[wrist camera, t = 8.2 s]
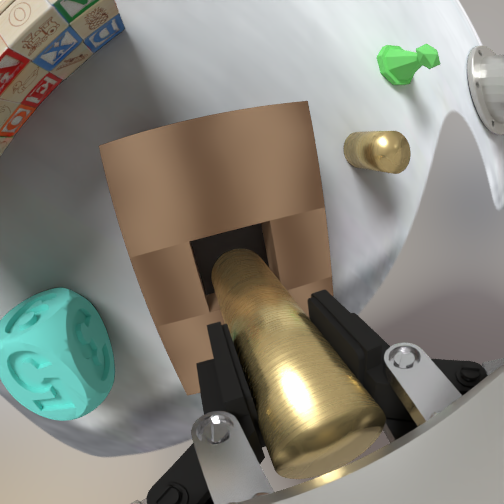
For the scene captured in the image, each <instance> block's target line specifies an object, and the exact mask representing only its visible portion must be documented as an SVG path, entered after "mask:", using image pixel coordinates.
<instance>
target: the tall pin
mask: <svg viewBox="0 0 504 504" xmlns="http://www.w3.org/2000/svg"><path fill="white" fill-rule="evenodd" d="M211 277H212V283H213V287H214V290H215V293H216V297H217V300H218V304H219V307H220V310H221V313H222V317H223V320H224V323H225V324H227V325H228V328H229V331H230V334H231V337H232V340H233V343H234V346H235V349H236V352H237V355H238V358H239V361H240V364H241V367H242V370H243V373H244V376H245V379H246V382H247V384H248V387H249V390H250V393H251V396H252V399H253V402H254V406H255V409H256V412H257V415H258V425H259V428H260V431H261V434H262V437H263V439H264V442H265V445H266V447H267V450H268V453H269V455H270V458H271V461H272V463H273V466H274V468H275V471H276V472H277V473H278V474H279V475H280V476H282V477H285V478H290V479H305V478H311V477H315V476H319V475H322V474H326V473H328V472H331V471H333V470H336V469H338V468H340V467H342V466H344V465H346V464H347V463H349V462H351V461H352V460H354V459H355V458H357V457H358V456H359V455H361V454H362V453H363V452H364V451H366V450H367V448H369V447H370V446H371V445H372V444H373V443H374V442H375V441H376V439H377V438H378V437H379V435H380V433H381V432H382V430H383V428H384V426H385V422H386V416H385V413H384V412H383V410H382V409H381V408H380V407H379V405H378V404H377V403H376V402H375V400H374V399H373V398H372V397H371V395H370V394H369V393H368V392H367V390H366V389H365V388H364V386H363V385H362V384H361V383H360V381H359V380H358V379H357V378H356V376H355V375H354V374H353V373H352V371H351V370H350V369H349V368H348V366H347V365H346V364H345V363H344V361H343V360H342V359H341V358H340V356H339V355H338V354H337V352H336V351H335V350H334V349H333V347H332V346H331V345H330V344H329V342H328V341H327V340H326V339H325V337H324V336H323V335H322V334H321V332H320V331H319V330H318V329H317V327H316V326H315V325H314V324H313V322H312V321H311V320H310V319H309V317H308V316H307V315H306V314H305V312H304V311H303V310H302V309H301V307H300V306H299V305H298V304H297V302H296V301H295V300H294V299H293V297H292V296H291V295H290V294H289V292H288V291H287V290H286V289H285V287H284V286H283V285H282V284H281V282H280V281H279V280H278V279H277V277H276V276H275V275H274V274H273V272H272V271H271V270H270V269H269V267H268V266H267V265H266V264H265V262H264V261H263V260H262V259H261V257H260V256H259V255H258V254H256V253H255V252H253V251H251V250H248V249H241V248H240V249H233V250H230V251H228V252H226V253H224V254H223V255H222V256H220V257H219V259H218V260H217V261H216V262H215V264H214V266H213V269H212V275H211Z"/></svg>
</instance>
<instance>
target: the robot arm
mask: <svg viewBox="0 0 504 504" xmlns="http://www.w3.org/2000/svg"><path fill="white" fill-rule="evenodd" d="M467 74H468V82H469V88H470V91H471V96H472V99H473V102H474V105H475V107H476V110H477V112H478V114H479V116H480V118H481V120H482V122H483V123H484V124H485V126H486V127H487V128H488V129H489V130H490V131H491V132H492V133H494V134H497V135H504V55H496V54H495V53H494V52H493V51H492V50H491V49H489V48H487V47H486V46H476V47H474V48H473V49H472V50H471V51H470V53H469V56H468V61H467ZM307 301H308V311H309V319H310V320H311V321H312V322H313V324H314V325H315V326H316V327H317V329H318V330H319V331H320V332H321V334H322V335H323V336H324V337H325V339H326V340H327V341H328V342H329V344H330V345H331V346H332V347H333V349H334V350H335V351H336V352H337V354H338V355H339V356H340V358H341V359H342V360H343V361H344V363H345V364H346V365H347V366H348V368H349V369H350V370H351V371H352V373H353V374H354V375H355V376H356V378H357V379H358V380H359V381H360V383H361V384H362V385H363V386H364V388H365V389H366V390H367V392H368V393H369V394H370V395H371V397H372V398H373V399H374V400H375V402H376V403H377V404H378V405H379V407H380V408H381V409H382V410H383V412H384V413H385V416H386V422H385V426H384V428H383V431H384V433H385V434H386V436H387V438H388V440H389V442H390V444H388V445H386V446H384V447H383V448H381V449H379V450H377V451H375V452H373V453H371V454H370V455H367V456H365V457H363V458H361V459H359V460H357V461H355V462H353V463H351V464H348V465H346V466H344V467H341V468H339V469H337V470H335V471H332V472H330V473H327V474H325V475H322V476H320V477H317V478H315V479H312V480H310V481H307V482H304V483H301V484H299V485H296V486H293V487H290V488H287V489H284V490H281V491H277V492H274V491H273V489H272V487H271V485H270V483H269V481H268V479H267V478H266V476H265V474H264V472H263V470H262V468H261V466H260V464H261V462H262V461H263V459H264V458H265V456H264V453H263V450H262V447H265V446H266V445H265V442H264V439H263V437H262V434H261V431H260V428H259V425H258V415H257V412H256V409H255V406H254V402H253V399H252V396H251V393H250V390H249V387H248V384H247V382H246V379H245V376H244V373H243V370H242V367H241V364H240V361H239V358H238V355H237V352H236V349H235V346H234V343H233V340H232V337H231V334H230V331H229V328H228V325H227V324H223V325H221V322H216V323H212V324H209V325H207V330H208V335H209V339H210V344H211V349H212V353H213V358H214V359H210V360H206V361H203V362H199V363H197V364H196V366H197V373H198V380H199V386H200V393H201V399H202V405H203V411H204V415H203V416H201V417H200V418H199V419H197V420H196V422H195V423H194V424H193V427H192V430H191V435H192V440H193V444H192V445H191V446H190V447H189V448H188V449H187V451H185V453H184V454H183V455H182V456H181V457H180V458H179V459H178V460H177V461H176V462H175V463H174V464H173V466H172V467H171V468H170V469H169V470H168V471H167V472H166V473H165V474H164V475H163V476H162V477H161V478H160V479H159V480H158V481H157V482H156V483H155V484H154V485H153V486H152V488H151V489H150V490H149V492H148V495H147V498H146V499H144V500H142V501H138V500H136V501H134V502H132V503H131V504H504V358H502V359H497V360H493V361H488V362H484V363H483V364H482V366H481V365H480V364H478V363H475V362H471V361H456V360H455V361H454V360H441V359H430V358H429V357H428V356H427V355H426V353H425V352H424V351H423V350H422V349H421V348H419V347H418V346H417V345H414V344H411V343H399V344H395V345H393V346H391V347H390V346H389V345H388V344H387V343H386V342H385V341H384V340H383V339H382V338H381V337H380V336H379V335H378V334H377V333H376V332H374V331H373V330H372V329H371V328H370V327H369V326H368V325H367V324H366V323H365V322H364V321H363V320H362V319H361V318H360V317H359V316H358V315H356V314H355V313H350V312H349V311H348V310H347V309H346V308H345V307H344V306H342V305H341V304H340V303H339V302H338V301H337V300H336V299H335V298H334V297H333V296H332V295H331V294H330V293H329V292H328V291H327V290H325V289H324V290H321V291H318V292H315V293H312V294H311V298H308V300H307Z"/></svg>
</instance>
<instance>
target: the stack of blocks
mask: <svg viewBox="0 0 504 504" xmlns="http://www.w3.org/2000/svg"><path fill="white" fill-rule="evenodd" d="M118 12H119V11H118V8H117V6H116V3H115V1H114V0H0V156H1V154H2V153H3V152H4V150H5V149H6V148H7V146H8V145H9V143H10V142H11V141H12V139H13V138H14V135H15V134H16V133H17V132H18V130H19V129H20V128H21V126H22V125H23V124H24V123H25V122H26V120H27V119H28V118H29V117H30V116H31V114H32V113H33V112H34V111H35V110H36V108H37V106H39V105H40V103H41V102H42V101H43V100H44V99H45V98H46V97H47V96H48V95H49V94H50V93H51V92H52V91H53V90H54V89H55V88H56V87H57V86H58V85H59V84H60V83H61V81H62V80H65V79H66V78H67V77H68V76H69V75H70V74H71V73H73V72H74V71H75V70H76V69H77V68H78V67H79V66H80V65H81V64H82V63H84V62H85V61H86V60H87V59H88V58H89V57H91V56H92V55H93V53H95V52H96V51H97V50H99V49H100V48H101V47H102V46H104V45H105V44H106V43H107V42H109V41H110V40H111V39H112V38H114V37H115V36H116V35H118V34H119V33H121V32H122V31H123V30H124V29H125V27H124V24H123V22H122V19H121V17H120V14H119V13H118Z"/></svg>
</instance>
